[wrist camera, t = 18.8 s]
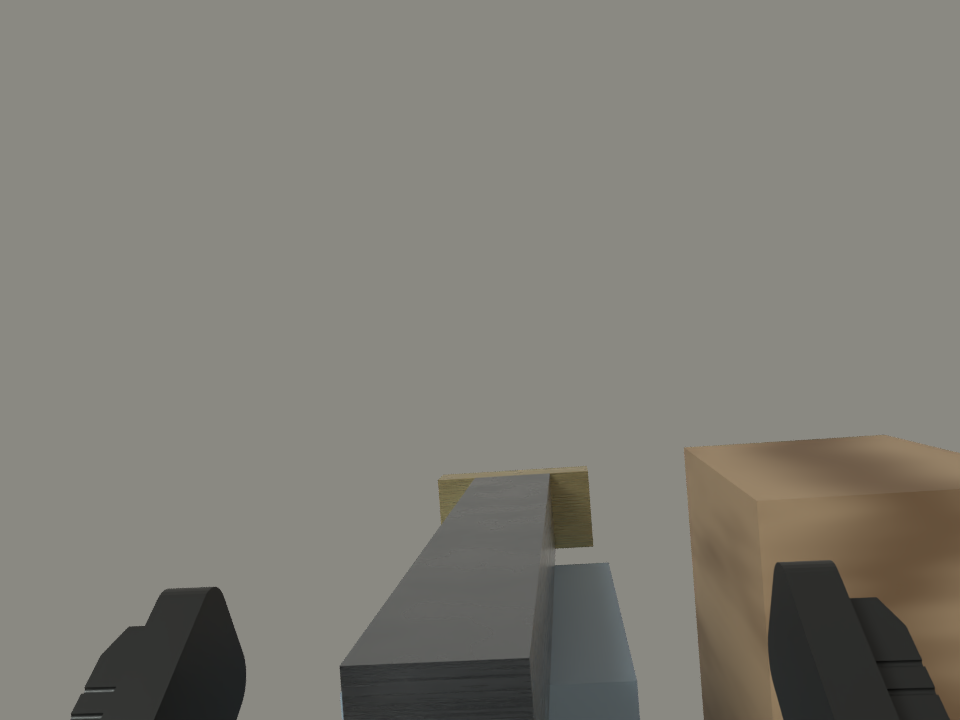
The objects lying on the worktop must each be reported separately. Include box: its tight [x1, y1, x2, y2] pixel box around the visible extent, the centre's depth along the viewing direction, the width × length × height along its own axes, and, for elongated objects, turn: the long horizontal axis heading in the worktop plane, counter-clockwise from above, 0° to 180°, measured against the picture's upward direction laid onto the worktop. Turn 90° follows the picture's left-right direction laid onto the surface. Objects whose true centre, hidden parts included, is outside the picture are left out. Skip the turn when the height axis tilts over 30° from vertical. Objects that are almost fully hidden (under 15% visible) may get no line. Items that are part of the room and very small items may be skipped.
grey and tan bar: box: [340, 466, 593, 720], centre depth 26 cm, size 6×24×3 cm, turn 175°
